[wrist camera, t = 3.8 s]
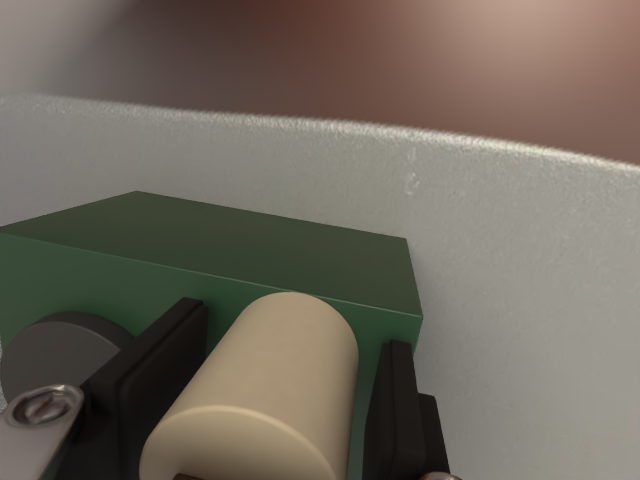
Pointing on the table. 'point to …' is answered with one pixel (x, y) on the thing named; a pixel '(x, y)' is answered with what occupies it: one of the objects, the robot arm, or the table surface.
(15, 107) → the table surface
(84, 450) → the robot arm
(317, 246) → the camp stove
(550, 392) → the table surface
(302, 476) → the stove knob
